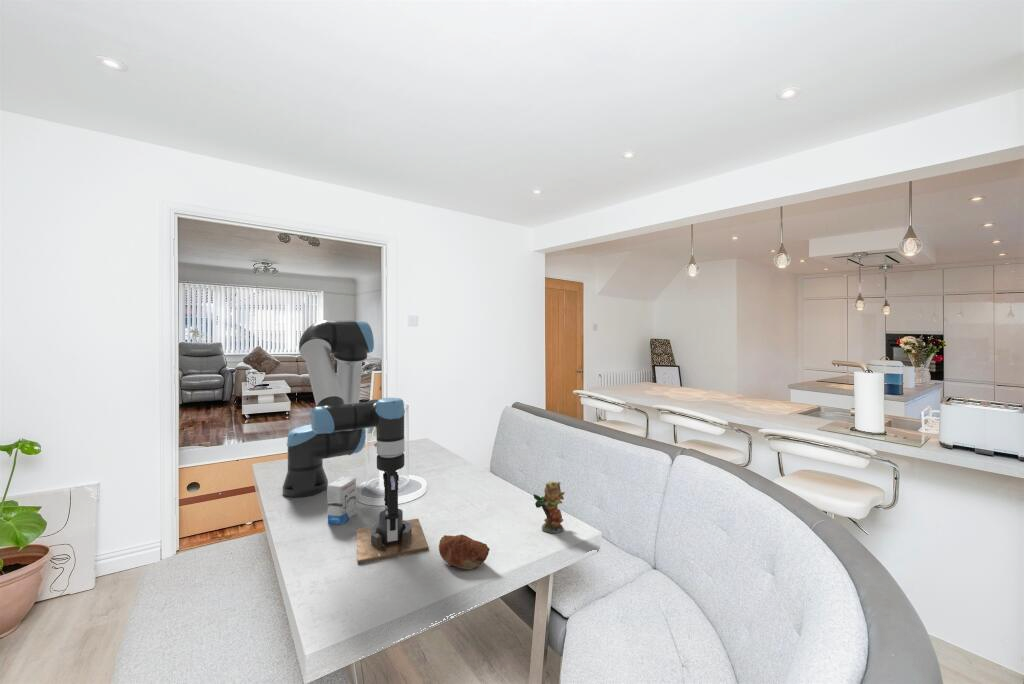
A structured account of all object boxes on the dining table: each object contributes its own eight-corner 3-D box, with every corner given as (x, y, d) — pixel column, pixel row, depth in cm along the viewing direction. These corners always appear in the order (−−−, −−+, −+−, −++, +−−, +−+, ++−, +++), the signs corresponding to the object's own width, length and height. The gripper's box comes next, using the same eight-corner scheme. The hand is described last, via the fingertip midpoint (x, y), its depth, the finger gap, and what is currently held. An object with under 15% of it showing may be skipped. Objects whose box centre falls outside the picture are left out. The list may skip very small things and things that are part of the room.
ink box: (341, 525, 126) (340, 487, 126) (326, 523, 127) (326, 485, 127) (357, 512, 135) (356, 477, 134) (343, 511, 136) (343, 475, 135)
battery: (378, 534, 119) (378, 508, 118) (401, 530, 121) (401, 505, 121) (380, 545, 113) (379, 518, 112) (404, 540, 115) (404, 514, 115)
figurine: (566, 525, 126) (567, 477, 126) (561, 537, 119) (561, 486, 119) (538, 521, 129) (538, 473, 129) (531, 532, 122) (531, 482, 122)
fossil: (429, 545, 108) (451, 514, 108) (450, 548, 114) (471, 517, 114) (454, 584, 99) (478, 549, 99) (475, 585, 105) (498, 552, 105)
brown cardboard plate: (356, 531, 122) (356, 520, 122) (418, 521, 129) (418, 510, 129) (357, 564, 105) (357, 550, 105) (428, 550, 112) (428, 537, 112)
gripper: (374, 446, 124) (375, 522, 124) (379, 465, 106) (379, 554, 106) (400, 443, 127) (400, 517, 127) (408, 462, 109) (409, 548, 109)
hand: (391, 534), depth 117 cm, fingers closed on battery, 6 cm apart
